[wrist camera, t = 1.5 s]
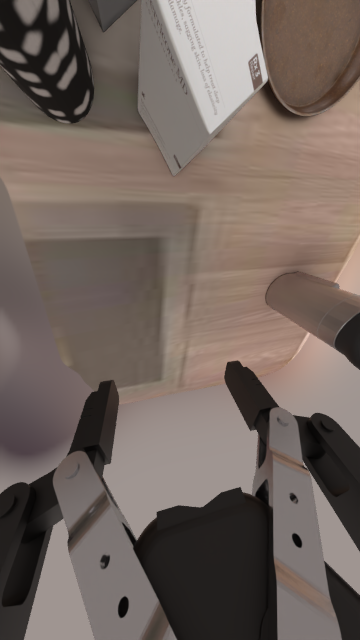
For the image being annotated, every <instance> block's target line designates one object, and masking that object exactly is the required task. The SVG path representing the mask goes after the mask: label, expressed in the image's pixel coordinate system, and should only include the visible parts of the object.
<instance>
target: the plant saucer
mask: <svg viewBox="0 0 360 640" xmlns="http://www.w3.org/2000/svg"><path fill="white" fill-rule="evenodd" d="M261 47H262V52H263V56H264V61H265V66H266V70H267V75H268V83H269V85H270V87H271V90H272V92H273V93H274V95H275V97H276V98H277V100H278V101H279V102H280V103H281V104H282V105H283V106H284V107H285V108H286V109H287V110H289V111H290V112H292V113H295V114H297V115H301V116H312V115H317V114H320V113H322V112H324V111H326V110H328V109H330V108H331V107H333V106H334V105H335V104H337V103H338V102H339V101H340V100H341V99H342V98H343V97H344V96H345V95H346V94H347V93H348V92H349V91H350V90H351V89H352V88H353V87H354V85H355V84H356V83H357V82H358V80H359V79H360V0H262V5H261Z"/></svg>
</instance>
